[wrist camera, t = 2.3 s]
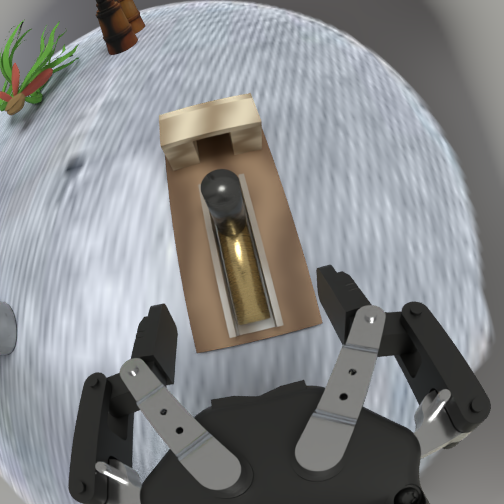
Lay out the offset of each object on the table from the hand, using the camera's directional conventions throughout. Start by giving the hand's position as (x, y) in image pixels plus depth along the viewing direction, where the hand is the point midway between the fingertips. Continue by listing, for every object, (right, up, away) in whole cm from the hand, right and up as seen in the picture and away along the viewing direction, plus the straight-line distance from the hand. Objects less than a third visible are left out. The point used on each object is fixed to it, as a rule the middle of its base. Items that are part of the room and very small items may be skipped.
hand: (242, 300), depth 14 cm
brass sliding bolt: (-1, +3, +16) cm, 16 cm away
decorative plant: (-56, +46, +32) cm, 79 cm away
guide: (-2, +6, +19) cm, 20 cm away
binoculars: (-33, +60, +35) cm, 77 cm away
